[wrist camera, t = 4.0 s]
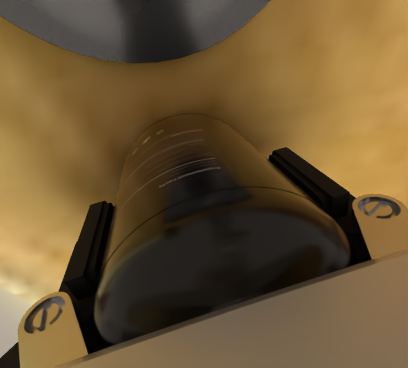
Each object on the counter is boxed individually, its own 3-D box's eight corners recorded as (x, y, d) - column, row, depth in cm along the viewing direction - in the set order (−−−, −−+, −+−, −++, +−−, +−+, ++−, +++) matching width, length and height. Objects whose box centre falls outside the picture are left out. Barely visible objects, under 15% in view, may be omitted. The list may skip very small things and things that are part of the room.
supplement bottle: (269, 178, 15) (556, 485, 4) (179, 243, 16) (240, 617, 5) (201, 77, 11) (710, 369, 1) (91, 168, 12) (-182, 770, 2)
